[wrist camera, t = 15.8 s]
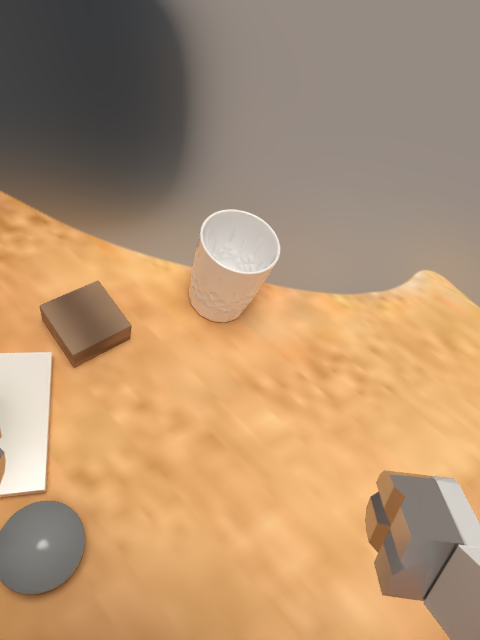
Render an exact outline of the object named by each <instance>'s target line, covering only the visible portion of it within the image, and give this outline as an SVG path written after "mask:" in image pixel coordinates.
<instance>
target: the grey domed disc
mask: <svg viewBox="0 0 480 640" xmlns="http://www.w3.org/2000/svg"><path fill="white" fill-rule="evenodd" d="M84 548H85V534H84V529H83V525H82V522H81V520H80V518H79V517H78V515H77V514H76V513H75V512H74V511H73V510H72V509H71V508H70V507H68V506H67V505H65V504H62V503H60V502H56V501H40V502H36V503H33V504H30V505H28V506H26V507H24V508H22V509H20V510H19V511H18V512H16V513H15V514H14V515H13V516H12V517H11V518H10V519H9V520H8V521H7V522H6V523H5V525H4V526H3V528H2V529H1V531H0V580H1V581H2V582H3V583H4V584H5V585H6V586H7V587H8V588H10V589H12V590H13V591H16V592H19V593H23V594H39V593H44V592H48V591H50V590H53V589H55V588H57V587H59V586H60V585H61V584H63V583H64V582H65V581H66V580H68V579H69V578H70V576H71V575H72V574H73V573H74V572H75V570H76V569H77V567H78V565H79V564H80V561H81V559H82V556H83V553H84Z"/></svg>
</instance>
